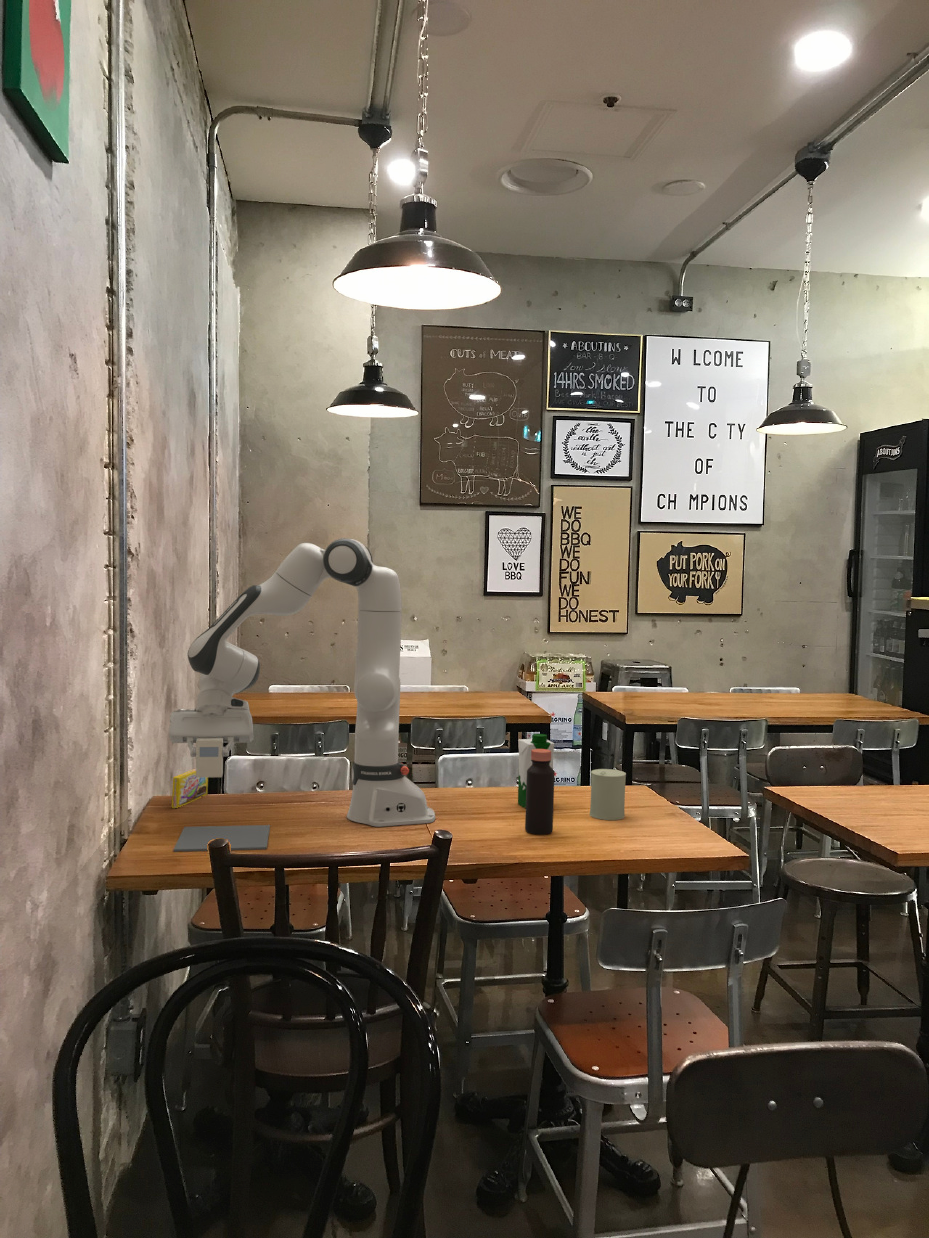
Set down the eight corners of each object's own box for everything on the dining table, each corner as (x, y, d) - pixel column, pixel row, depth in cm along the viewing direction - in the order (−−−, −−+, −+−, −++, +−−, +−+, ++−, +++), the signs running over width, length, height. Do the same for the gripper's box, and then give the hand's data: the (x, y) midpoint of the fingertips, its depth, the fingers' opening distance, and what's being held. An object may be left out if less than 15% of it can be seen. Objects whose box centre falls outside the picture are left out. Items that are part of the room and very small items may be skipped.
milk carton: (525, 811, 239) (527, 737, 238) (513, 803, 247) (515, 731, 246) (555, 809, 241) (558, 736, 241) (542, 801, 250) (544, 730, 249)
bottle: (524, 827, 223) (526, 747, 222) (551, 828, 223) (554, 748, 222) (525, 834, 217) (527, 752, 216) (553, 835, 216) (556, 753, 216)
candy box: (178, 809, 232) (178, 777, 232) (170, 808, 232) (171, 777, 232) (208, 795, 248) (208, 765, 248) (201, 794, 248) (201, 764, 248)
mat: (269, 827, 217) (269, 825, 217) (266, 849, 200) (266, 847, 200) (184, 828, 214) (184, 826, 214) (173, 851, 196) (173, 849, 196)
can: (582, 815, 236) (584, 770, 236) (602, 809, 243) (603, 765, 242) (612, 822, 230) (613, 776, 229) (631, 816, 237) (633, 771, 236)
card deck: (222, 774, 220) (223, 738, 220) (221, 777, 217) (221, 740, 217) (197, 774, 219) (197, 738, 219) (195, 777, 216) (196, 740, 216)
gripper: (169, 701, 222) (163, 748, 213) (254, 701, 226) (251, 747, 217) (172, 716, 227) (166, 763, 218) (255, 716, 230) (252, 761, 221)
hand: (209, 755), depth 217 cm, fingers closed on card deck, 6 cm apart
